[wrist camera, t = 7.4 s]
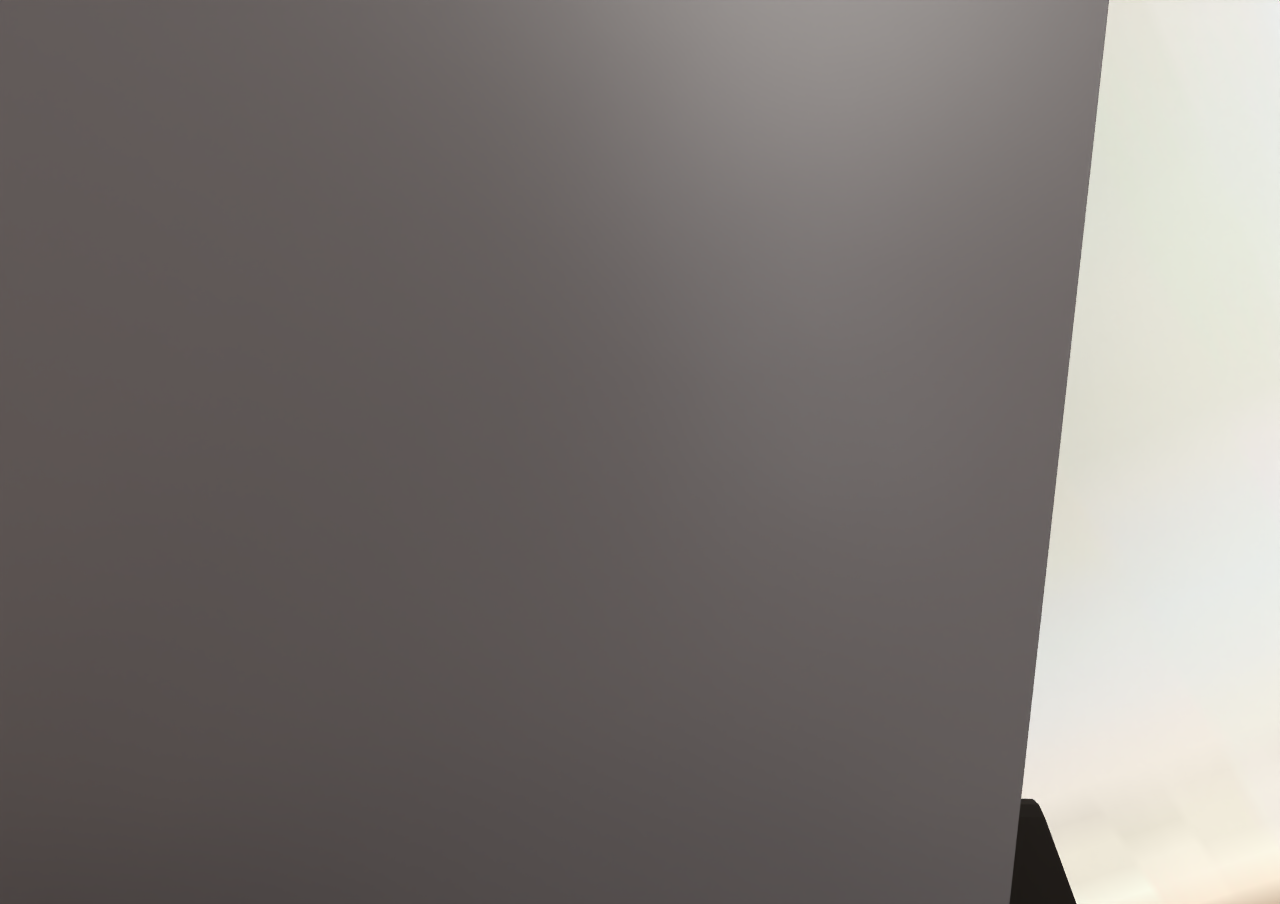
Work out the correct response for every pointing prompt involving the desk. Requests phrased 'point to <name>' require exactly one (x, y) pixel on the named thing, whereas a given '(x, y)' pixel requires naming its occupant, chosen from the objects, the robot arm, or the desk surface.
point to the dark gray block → (529, 444)
